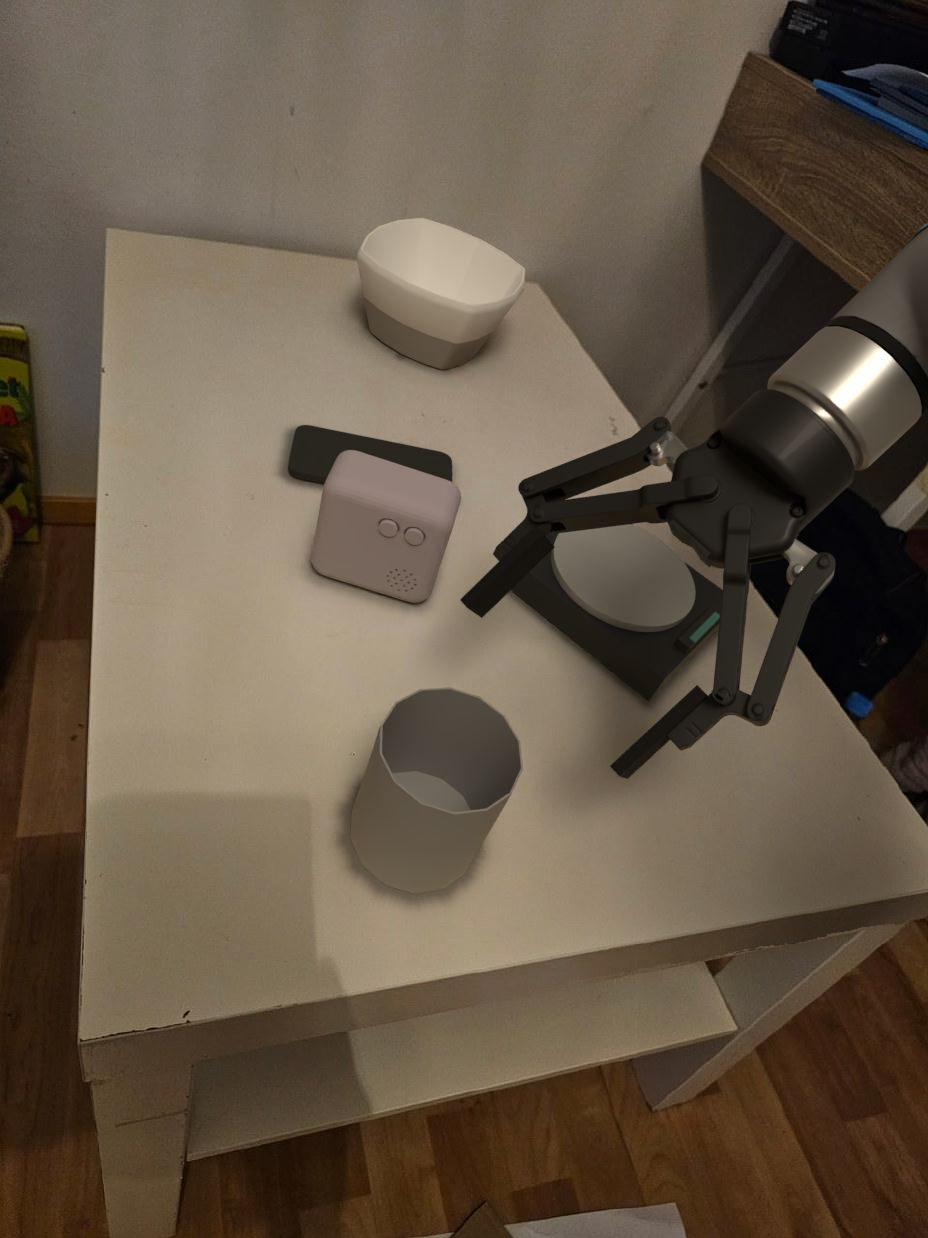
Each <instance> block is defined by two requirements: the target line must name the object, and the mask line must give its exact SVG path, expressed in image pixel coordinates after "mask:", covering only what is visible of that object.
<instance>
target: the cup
mask: <svg viewBox="0 0 928 1238" xmlns="http://www.w3.org/2000/svg"><path fill="white" fill-rule="evenodd" d="M522 754H523V753H522V745H521V740H520V738H519V737H518V734H517V733H516V732H515V730H514V728H513V727H512V725H511V724H510V722H509V720H508V718H507V717H506V715H505V714H503V713H502V712H501V711H499V710H498V709H497V708H496V707H494V706H493V705H492V704H490V703H489V702H488V701H486V700H485V699H484V698H482V697H481V696H479V695H477V694H472V693H469V692H466V691H463V690H459V689H457V688H454V687H450V686H449V687H432V688H419V689H417V690H416V691H413V692H411V693H410V694H408V695H406V696H404V697H402V698H400V699H398V700H397V701H395V702H394V703H393V705H392V706H391V708H390V710H389V711H388V713H387V714H386V716H385V717H384V718H383V720H382V721H381V723H380V725H379V728H378V731H377V735H376V737H375V740H374V743H373V747H372V750H371V753H370V756H369V759H368V762H367V765H366V768H365V770H364V773H363V776H362V780H361V783H360V786H359V789H358V791H357V794H356V798H355V801H354V804H353V807H352V810H351V818H350V821H351V822H350V834H349V835H350V836H349V837H350V838H349V840H350V841H351V844H352V846H353V848H354V851H355V853H356V855H357V857H358V860H359V862H360V864H361V866H362V867H363V868H364V869H366V871H368V872H369V873H370V874H371V875H372V876H373V877H375V878H376V879H377V880H378V881H379V882H381V884H383V885H384V886H387V887H390V888H394V889H397V890H401V891H403V892H407V893H410V894H413V895H416V894H423V893H429V892H434V891H443V890H444V889H446V888H447V887H448V886H450V885H451V884H452V883H454V882H456V881H457V880H458V879H460V878H461V877H462V876H464V875H465V874H466V872H467V871H468V869H469V868H470V866H471V864H472V862H473V860H474V859H475V857H476V856H477V854H478V852H479V851H480V850H481V849H480V848H481V846H482V845H483V844H484V842H485V840H486V839H487V837H488V835H489V833H490V831H492V829H493V827H494V825H495V823H496V821H497V820H498V818H499V817H500V815H501V813H502V812H503V809H504V808H505V806H506V804H507V802H508V801H509V799H510V798H511V797H512V795H513V792H514V790H515V789H516V785H517V784H518V782H519V779H520V777H521V774H522V772H523V770H524V765H523V755H522Z"/></svg>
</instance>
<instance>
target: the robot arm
mask: <svg viewBox="0 0 928 1238" xmlns="http://www.w3.org/2000/svg"><path fill="white" fill-rule="evenodd" d="M766 385H767V388H765V389H759V390H756V391H754V392H753V393H752V395H750V396H749V397H748V398H747V399H746V400H745V401H744V402H743V403H742V404H741V405H740V406H739V407H738V408H737V409H735V411H733V412H732V414H730V416H728V417H727V419H725V420H724V421H723V423H721V424H720V425H719V426H718V427H717V428H716V429H715V430H714V431H713V432H712V433H711V435H710V436H709V437H708V438H707V439H706V440H705V441H704V442H702V443H701V444H699V445H697V446H694V447H692V448H691V447H690V448H688V447H687V445H685V443H684V442H682V440H680V438H679V437H678V436H677V435H676V434H675V433H674V432H673V429H672V425H671V421H669V419H668V418H667V417H665V416H657V417H655V418H653V419H651V421H650V422H648V423H647V424H646V425H644V426H643V427H642V428H641V429H639V430H638V431H637V432H636V433H634V434H633V435H632V436H631V437H628V438H625V439H623V440H621V441H618V442H615V443H613V444H610V445H607V446H605V447H603V448H600V449H597V450H595V451H592V452H590V453H587V454H585V455H582V456H580V457H577V458H574V459H572V460H569V461H567V462H564V463H562V464H558V465H556V466H554V467H551V468H549V469H547V470H544V471H541V472H538V473H536V474H533V475H531V476H528V477H525V478H523V479H522V480H521V481H520V482H519V484H518V487H517V489H518V492H519V494H520V495H521V497H522V500H523V501H524V505H525V507H526V515H525V517H524V518H523V520H522V521H521V522H520V523H519V524H518V525H517V526H516V527H515V528H514V529H513V530H512V531H511V532H510V533H508V535H507V536H506V537H504V538H503V540H501V542H499V543H498V544H497V545H496V547H495V549H494V551H493V553H492V555H493V557H495V559H496V560H497V561H498V562H496V564H495V565H493V567H491V569H490V570H489V571H487V572H486V573H485V574H484V576H483V577H481V578H480V579H479V580H478V581H477V582H476V583H475V584H474V585H473V586H472V588H470V589H469V590H468V591H467V592H466V593H465V594H464V595H463V596H462V597H461V598H460V599H459V601H460V602H461V604H463V605H464V606H465V608H467V610H469V611H471V612H472V613H473V614H474V615H477V616H478V617H479V618H481V619H483V618H484V617H485V616H486V615H487V614H488V613H489V612H490V611H491V610H492V609H493V608H494V607H495V606H496V605H498V603H499V602H501V600H502V599H503V598H505V597H506V595H507V594H509V593H510V591H511V589H512V588H513V587H514V586H515V585H517V584H518V583H519V582H520V581H521V580H522V579H523V578H524V577H525V576H526V575H527V574H528V573H529V572H530V571H531V570H532V569H533V568H534V567H535V566H536V565H537V564H538V563H539V562H540V561H541V560H542V559H543V558H544V557H545V556H546V555H547V554H548V553H549V552H550V551H552V550H553V549H554V548H555V547H554V545H553V544H552V543H551V542H550V540H549V539H548V538H552V536H551V535H550V534H557V533H565V532H573V531H581V530H589V529H597V528H605V527H612V526H620V525H628V524H633V525H635V524H644V523H648V524H651V525H656V524H657V525H658V524H666V523H667V524H668V527H669V529H670V532H671V534H672V536H674V537H675V538H676V539H677V541H679V542H680V543H682V544H684V545H685V546H687V547H690V548H691V549H693V550H694V552H695V554H696V555H697V557H698V558H699V560H700V561H702V563H703V564H705V565H706V566H707V567H708V568H711V567H712V568H715V569H718V570H722V571H723V573H722V590H723V591H722V601H721V611H720V622H719V629H718V633H717V642H716V643H717V644H716V655H715V664H714V675H713V684H712V685H713V686H712V690H711V692H710V693H709V694H707V693H706V692H705V691H704V690H703V689H702V688H701V687H700V686H699V685H698V684H696V686H694V687H693V688H692V689H691V690H690V691H689V692H688V693H687V694H685V695H684V696H683V697H682V698H681V699H680V700H679V701H678V702H677V703H676V704H675V705H674V706H673V707H671V708H670V709H669V710H668V711H667V712H666V713H665V714H664V715H663V716H662V717H661V718H660V719H658V721H657V722H656V723H653V725H652V726H650V728H649V729H648V730H647V731H646V732H645V733H643V735H641V736H640V737H639V738H638V739H637V740H636V741H635V742H634V743H633V744H632V745H630V747H628V748H627V749H626V750H625V751H624V752H623V753H622V754H621V755H620V756H618V758H616V759H615V760H614V761H613V762H612V763H611V764H610V765H609V767H610V768H611V770H612V771H614V773H615V774H616V775H617V776H618V777H619V778H622V779H625V780H628V779H630V778H631V777H632V775H634V774H635V773H636V772H637V771H638V770H639V769H640V768H641V767H642V766H644V765H645V764H646V763H647V762H648V761H649V760H650V759H651V758H652V757H653V756H654V755H655V754H657V753H658V752H659V751H660V750H661V749H662V748H663V747H664V746H666V744H668V742H670V741H671V743H672V744H673V745H674V746H675V747H676V748H677V750H678V749H679V751H681V752H682V751H685V750H688V749H690V748H691V747H693V746H694V745H695V744H696V743H697V742H698V741H700V739H701V738H703V737H704V736H705V735H706V734H707V733H708V732H709V731H711V729H713V728H714V727H715V726H716V725H717V724H718V723H719V722H720V721H721V720H722V719H724V718H725V717H728V716H735V717H738V718H740V719H742V720H745V721H746V722H749V723H750V724H752V725H754V726H756V727H765V726H766V725H768V724H769V723H770V721H771V720H772V717H773V714H774V712H775V709H776V706H777V703H778V700H779V697H780V694H781V692H782V689H783V686H784V683H785V681H786V677H787V675H788V672H789V670H790V666H791V663H792V660H793V657H794V655H795V652H796V649H797V646H798V643H799V641H800V638H801V635H802V633H803V630H804V627H805V624H806V621H807V619H808V616H809V612H810V610H811V606H812V605H813V604H814V602H815V601H816V600H817V599H818V597H820V595H821V594H822V593H823V592H824V591H825V589H826V588H827V587H828V586H829V585H830V584H831V582H832V581H833V579H834V575H835V569H836V565H837V563H836V562H837V560H836V558H835V556H834V555H833V554H832V553H830V552H827V551H821V552H819V553H818V552H817V551H815V550H814V549H812V548H811V547H809V546H807V545H806V544H804V543H803V542H801V541H799V539H798V538H799V535H800V534H801V532H802V530H804V528H805V527H807V526H808V524H810V523H811V522H812V521H814V519H815V518H816V517H817V516H818V515H819V514H820V513H822V512H823V511H824V510H825V509H826V508H827V507H828V506H829V505H830V504H831V503H832V502H833V501H834V500H835V499H836V498H838V496H839V495H840V494H842V493H843V492H844V491H845V490H846V489H847V488H849V486H850V485H851V484H853V482H854V479H855V478H854V477H855V471H856V472H858V471H864V470H866V469H868V468H869V467H870V466H871V465H872V464H874V463H875V462H876V461H877V460H878V459H879V458H880V457H881V456H882V455H883V454H884V453H885V452H886V451H887V450H888V449H890V448H891V446H893V445H894V444H895V443H896V442H897V441H898V440H899V439H900V438H902V437H903V435H904V434H906V432H908V431H909V430H910V429H911V428H912V427H913V426H914V425H915V424H916V423H917V422H918V421H919V420H920V419H922V418H923V417H924V416H925V415H926V414H927V412H928V221H927V222H925V224H923V225H922V226H921V227H920V228H919V229H918V230H917V231H915V234H914V235H913V236H911V238H910V239H908V241H907V243H906V245H905V246H904V247H903V248H902V249H901V250H900V251H899V252H898V253H897V254H896V255H895V256H894V257H893V258H892V259H890V261H889V262H888V263H887V264H885V266H884V267H883V268H882V269H880V270H879V271H878V272H877V274H875V275H874V276H873V277H872V278H871V279H870V280H869V281H868V282H867V283H866V284H865V285H864V286H863V287H861V289H860V290H859V291H858V292H857V293H856V294H855V295H854V296H853V297H852V298H851V299H850V300H849V301H848V302H847V303H846V304H845V305H844V306H843V307H842V308H841V309H840V310H839V311H837V312H836V314H835V315H833V316H832V318H831V319H829V321H828V322H827V323H826V324H824V325H823V326H822V328H820V329H819V331H817V332H816V333H815V334H814V335H813V336H812V337H811V338H810V339H808V341H807V342H806V343H804V344H803V345H802V346H801V347H800V348H799V349H798V350H797V351H796V352H795V353H794V354H793V355H792V356H791V357H789V358H788V360H787V361H785V362H784V363H783V364H782V365H781V366H780V367H779V368H778V369H777V370H775V372H773V373H772V374H771V375H770V376H769V378H768V380H767V384H766ZM666 464H672V465H673V464H674V465H673V469H672V474H671V480H670V481H665V482H657V483H651V484H645V485H643V486H641V487H640V488H638V489H637V488H636V489H630V490H623V491H618V492H617V491H616V492H611V493H610V492H609V493H604V494H596V495H589V496H588V495H587V496H582V497H576V496H579V495H582V494H585V493H587V492H589V491H592V490H594V489H597V488H599V487H603V486H605V485H607V484H611V483H613V482H615V481H619V480H622V479H623V478H626V477H629V476H633V475H634V474H637V473H639V472H641V471H644V470H645V469H647V468H649V467H651V466H653V467H663V466H664V465H666ZM573 497H574V498H573ZM782 559H785V560H787V562H788V564H789V565H788V566H787V568H786V581H787V583H788V584H789V586H790V587H789V588H788V591H787V593H786V596H785V599H784V602H783V604H782V607H781V610H780V612H779V616H778V619H777V621H776V624H775V627H774V628H773V629H774V630H773V632H772V635H771V638H770V640H769V643H768V646H767V649H766V652H765V655H764V658H763V660H762V662H761V666H760V669H759V671H758V675H757V677H756V679H755V683H754V685H753V688H752V692H751V694H749V693H747V692H745V691H742V690H741V689H740V687H741V676H742V666H743V665H742V663H743V654H744V644H745V643H744V642H745V632H746V631H745V630H746V621H747V607H748V600H749V599H748V598H749V593H750V581H751V571H752V570H751V569H752V565H755V564H761V563H767V562H773V561H778V560H782Z"/></svg>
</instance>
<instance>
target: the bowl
mask: <svg viewBox="0 0 928 1238" xmlns="http://www.w3.org/2000/svg"><path fill="white" fill-rule="evenodd" d="M356 261H357V265H358V266H357V267H358V272H359V278H360V284H361V285H360V286H361V289H362V290H361V291H362V295H363V299H364V305H365V312H366V317H367V323H368V330H369V332H370V333H371V334H372V335H374V337H376V338H377V339H378V340H380V341H381V342H382V343H383V344H385V345H387V346H388V347H390V348H391V349H393V350H394V351H396V352H397V353H398V354H400V355H403V356H405V357H407V358H409V359H412V360H414V361H416V362H419V363H421V364H424V365H427V366H429V367H432V368H435V369H438V370H449V369H452V368H455V367H458V366H461V365H463V364H465V363H467V362H468V361H471V360H472V359H474V357H475V356H476V355H477V353H478V352H479V351H480V350H481V348H482V347H483V346H484V344H485V343H486V341H487V340H488V339H489V337H490V336H492V334H493V332H495V330H496V329H497V327H498V326H499V325H500V323H501V322H502V321H503V319H504V318H505V317H506V316H507V314H508V313H509V311H510V310H511V309H512V307H513V306H515V305H514V304H516V302H517V301H518V299H519V298H520V297H521V295H522V294H523V292H524V291H525V284H526V276H527V275H526V273H527V272H526V268H525V267H524V266H523V265H522V264H520V263H519V262H517V261H516V260H514V259H513V258H512V257H511V256H510V255H508V254H507V253H506V252H504V251H502V250H500V249H498V248H497V247H495V246H493V245H492V244H490V243H489V242H486V241H484V239H483V240H482V239H481V238H479V237H477V236H474V235H472V234H469V233H467V232H466V231H464V230H463V231H462V230H460V229H458V228H455V227H453V226H451V225H448V224H444V223H441V222H438V221H435V220H431V219H428V218H425V217H415V218H405V219H397V220H394V221H391V222H388V223H384V224H381V225H378V226H376V228H374V229H373V230H371V232H369V233H368V234H367V235H366V236H365V237H364V238H363V240H362V242H361V244H360V246H359V249H358V251H357V253H356Z"/></svg>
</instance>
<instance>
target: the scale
mask: <svg viewBox="0 0 928 1238" xmlns="http://www.w3.org/2000/svg"><path fill="white" fill-rule="evenodd" d="M550 535H551V536H552V538H548V539H549V540H550V542H551V543H552V544H553V545H554V547H555V548H554V549H553V550H552V551H550V552H549V553H548V554H547V555H546V556H545V557H544V558H543V559H542V560H541V561H540V562H539V563H538V564H537V565H536V566H535V567H534V568H533V569H532V570H531V571H530V572H529V573H528V574H527V575H526V576H525V577H524V578H523V579H522V580H521V581H520V582H519V583H518V584H517V585H515V586H514V587H513V588H512V589H511V590H510V591H511V592H512V593H513V594H515V595H516V596H518V597H519V598H520V599H521V600H522V601H524V602H525V603H526V604H527V605H529V606H530V607H531V608H532V609H533V610H535V611H536V612H537V613H538V614H540V615H541V616H543V617H544V618H545V619H546V620H547V621H549V623H551V624H552V625H554V626H555V627H556V628H557V629H559V630H560V631H561V632H562V633H564V634H565V635H566V636H567V637H569V638H570V639H571V640H572V641H573V642H575V643H576V644H577V645H578V646H580V648H582V649H583V650H585V651H586V652H587V653H589V654H590V655H591V656H592V657H593V658H594V659H596V660H597V661H598V662H600V663H601V664H602V665H603V666H604V667H606V668H607V669H608V670H610V671H611V672H612V673H613V674H615V675H616V676H617V677H619V679H621V680H622V681H623V682H625V683H626V684H627V685H629V687H631V688H632V689H633V690H635V691H636V692H637V693H639V694H640V695H641V696H642V697H643V698H645V699H646V700H647V701H648V702H650V701H651V700H652V699H653V698H654V697H655V696H656V695H657V693H659V691H661V689H662V688H664V687H665V685H666V684H667V683H668V682H669V681H670V680H671V679H672V678H673V677H674V676H675V675H676V674H677V673H678V672H679V671H680V670H681V669H682V668H683V667H684V666H685V665H686V664H687V663H688V661H690V660H691V658H692V657H694V656H695V655H696V653H697V652H698V651H699V650H700V649H701V648H702V647H703V646H704V645H705V644H706V643H707V642H708V641H709V640H710V639H711V638H712V637H713V636H714V635H715V634H716V633H717V631H719V622H720V611H721V601H722V591H723V588H722V587H720V586H718V585H717V584H715V583H714V582H713V581H711V580H710V579H709V578H708V577H706V576H704V575H703V574H702V573H700V572H699V571H698V570H696V569H695V568H693V567H692V566H691V565H689V564H688V563H686V562H685V561H684V560H683V559H682V558H681V557H680V555H679V554H678V553H677V552H676V551H675V550H674V549H673V548H672V547H671V546H670V545H668V544H667V543H666V542H664V541H663V540H662V539H661V538H659V537H657V536H656V535H655V534H653V533H651V532H649V531H648V530H646V529H644V528H642V527H639V526H637V525H635V524H628V525H620V526H612V527H605V528H597V529H589V530H581V531H573V532H565V533H557V534H550Z"/></svg>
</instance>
